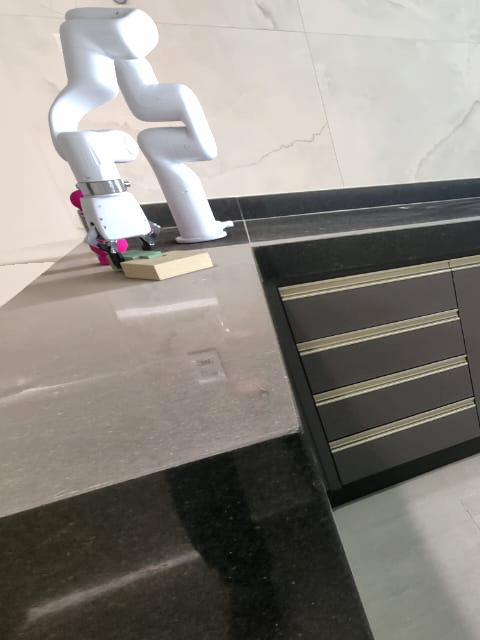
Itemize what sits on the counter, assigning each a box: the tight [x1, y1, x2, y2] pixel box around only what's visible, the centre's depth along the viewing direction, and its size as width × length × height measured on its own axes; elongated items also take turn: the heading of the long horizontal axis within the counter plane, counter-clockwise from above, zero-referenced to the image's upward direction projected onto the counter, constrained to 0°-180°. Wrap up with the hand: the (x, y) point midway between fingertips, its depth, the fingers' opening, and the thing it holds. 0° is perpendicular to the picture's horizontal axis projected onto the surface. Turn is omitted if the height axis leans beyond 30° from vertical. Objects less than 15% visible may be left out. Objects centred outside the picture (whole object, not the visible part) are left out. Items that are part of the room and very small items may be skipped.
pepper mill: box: [69, 182, 129, 266], centre depth 135 cm, size 7×7×20 cm
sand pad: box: [120, 249, 214, 281], centre depth 126 cm, size 12×12×4 cm
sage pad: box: [107, 249, 163, 271], centre depth 129 cm, size 6×13×4 cm, turn 71°
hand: (138, 264), depth 130 cm, fingers closed on sage pad, 6 cm apart
